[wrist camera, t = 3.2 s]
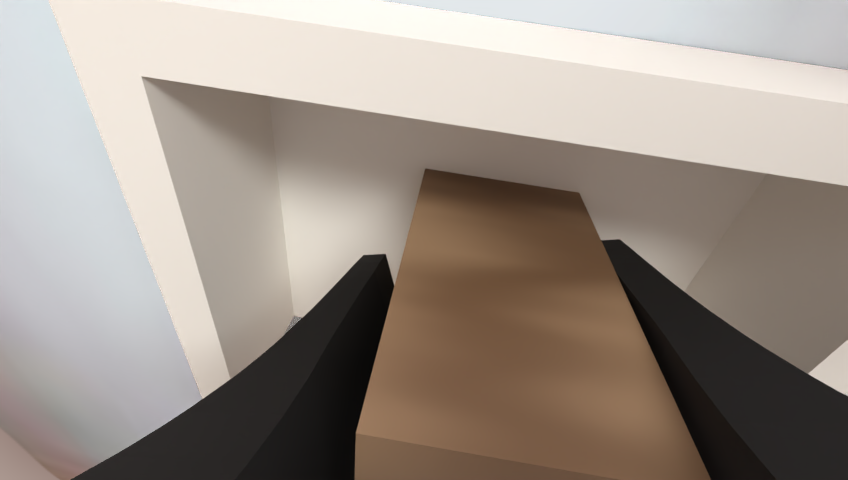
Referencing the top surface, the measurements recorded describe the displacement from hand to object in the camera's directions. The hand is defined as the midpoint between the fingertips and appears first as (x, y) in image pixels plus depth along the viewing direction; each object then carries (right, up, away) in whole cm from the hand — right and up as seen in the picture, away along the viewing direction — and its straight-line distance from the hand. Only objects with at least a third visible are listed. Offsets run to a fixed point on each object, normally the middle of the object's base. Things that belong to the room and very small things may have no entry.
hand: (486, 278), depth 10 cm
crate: (0, +1, +2) cm, 2 cm away
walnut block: (0, +1, +1) cm, 2 cm away
